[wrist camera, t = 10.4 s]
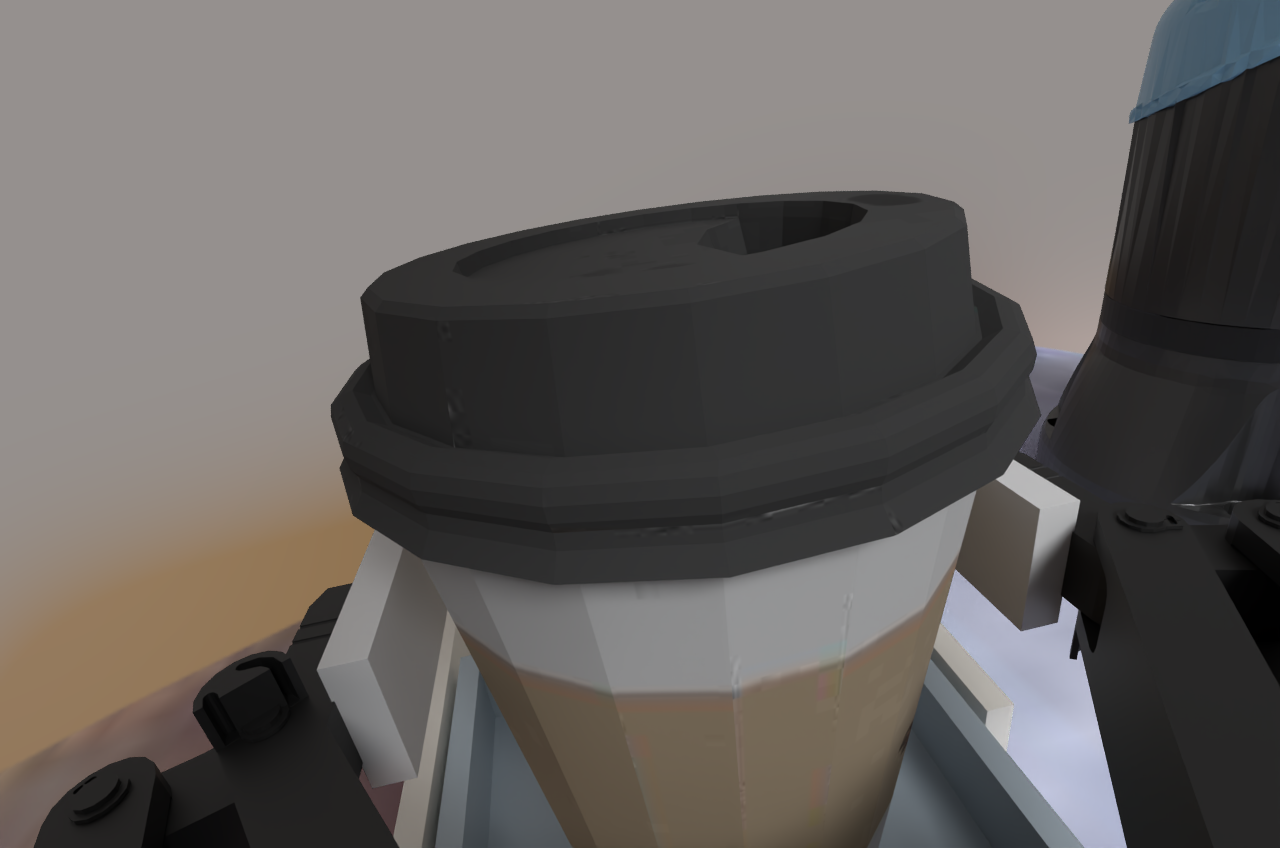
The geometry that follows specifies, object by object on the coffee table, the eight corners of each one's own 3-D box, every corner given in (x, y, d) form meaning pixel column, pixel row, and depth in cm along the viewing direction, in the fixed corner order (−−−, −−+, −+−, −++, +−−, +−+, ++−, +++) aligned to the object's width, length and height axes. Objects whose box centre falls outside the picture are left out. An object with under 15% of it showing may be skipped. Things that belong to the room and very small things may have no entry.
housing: (792, 520, 33) (789, 454, 31) (998, 799, 19) (1014, 704, 17) (475, 588, 31) (455, 522, 30) (431, 953, 17) (387, 864, 15)
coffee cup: (1093, 1085, 11) (1411, 214, 5) (467, 1173, 11) (6, 420, 5) (855, 632, 21) (861, 172, 15) (533, 679, 21) (410, 239, 15)
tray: (855, 633, 24) (857, 504, 22) (1240, 1184, 11) (1353, 1016, 9) (482, 721, 23) (439, 594, 20) (422, 1475, 10) (280, 1372, 7)
